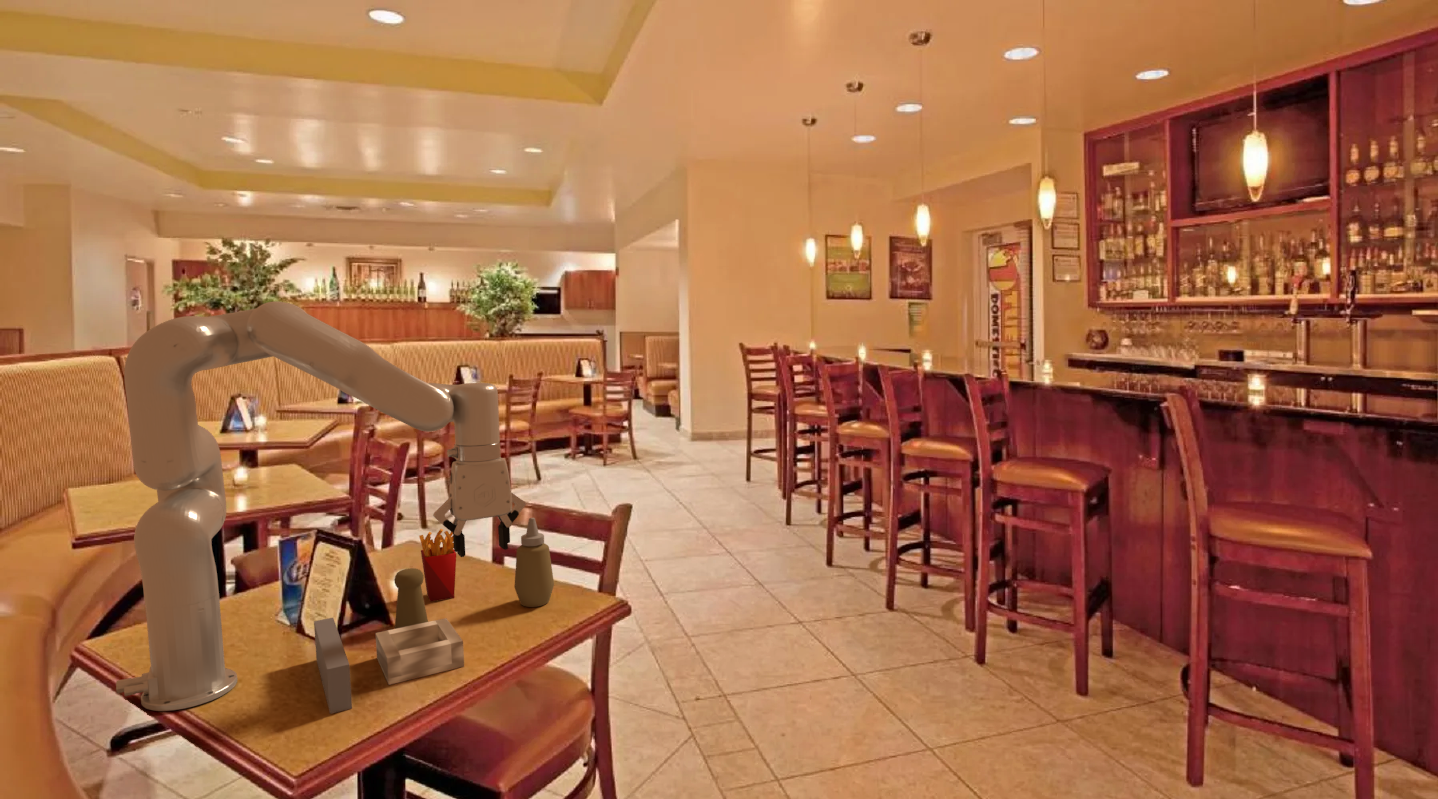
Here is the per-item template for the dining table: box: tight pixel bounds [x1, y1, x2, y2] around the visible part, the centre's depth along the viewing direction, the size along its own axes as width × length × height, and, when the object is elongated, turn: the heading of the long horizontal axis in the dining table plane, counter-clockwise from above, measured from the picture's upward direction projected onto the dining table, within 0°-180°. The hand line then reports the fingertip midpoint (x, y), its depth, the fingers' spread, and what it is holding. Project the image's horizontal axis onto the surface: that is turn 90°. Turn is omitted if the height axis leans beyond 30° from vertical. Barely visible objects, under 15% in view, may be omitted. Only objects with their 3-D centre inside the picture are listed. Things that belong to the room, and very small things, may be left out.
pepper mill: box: [393, 567, 429, 629], centre depth 147 cm, size 6×6×11 cm
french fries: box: [418, 528, 457, 603], centre depth 162 cm, size 9×8×15 cm
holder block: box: [375, 617, 465, 685], centre depth 131 cm, size 12×12×4 cm
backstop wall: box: [313, 617, 353, 715], centre depth 124 cm, size 3×22×7 cm, turn 32°
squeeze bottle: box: [514, 517, 555, 608], centre depth 158 cm, size 8×8×18 cm
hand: (482, 550), depth 136 cm, fingers open, 6 cm apart
